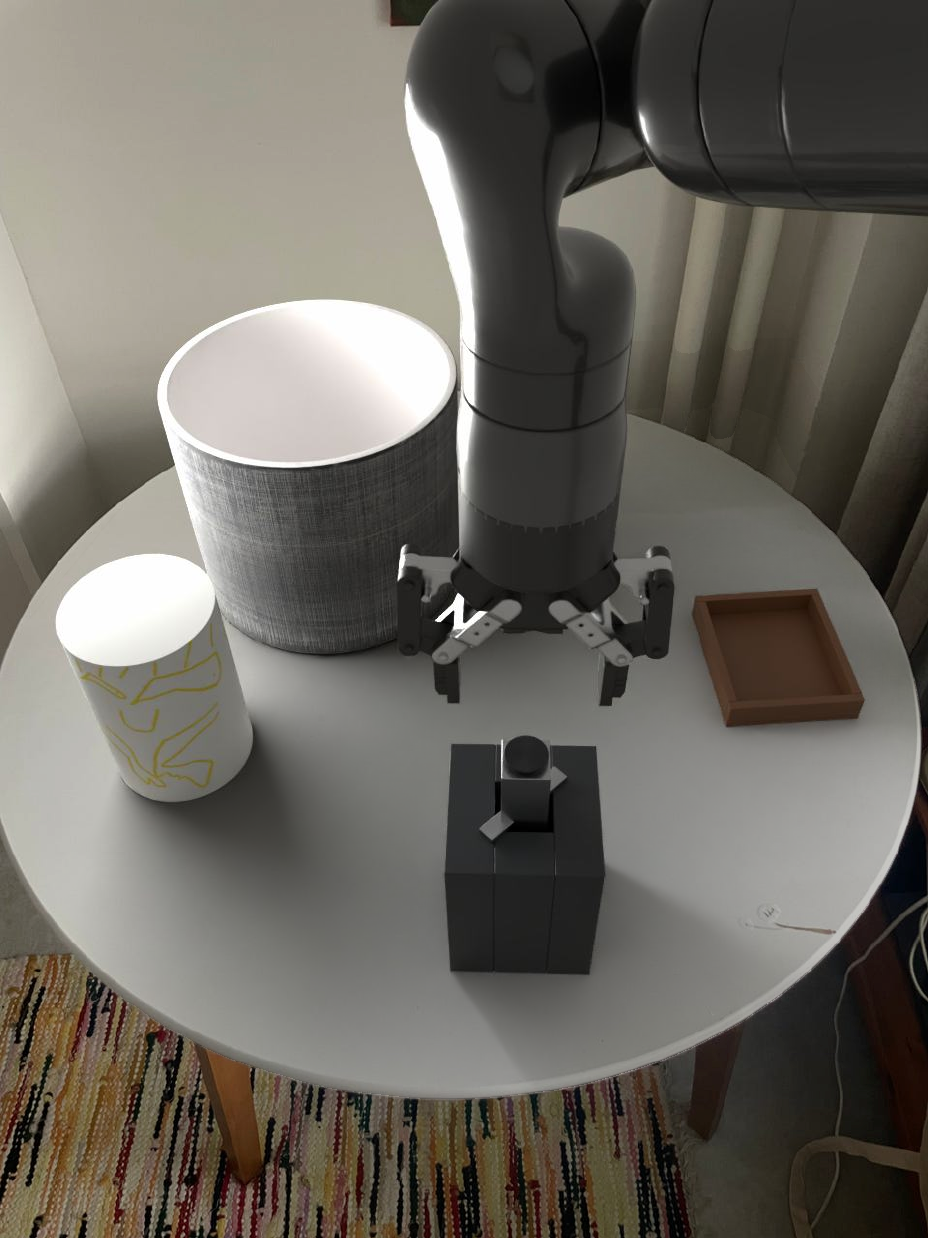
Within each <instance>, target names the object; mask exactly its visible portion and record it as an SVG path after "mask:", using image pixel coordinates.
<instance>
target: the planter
mask: <svg viewBox="0 0 928 1238" xmlns="http://www.w3.org/2000/svg"><path fill="white" fill-rule="evenodd" d="M457 366H458V365H457V361H456V358H455V356H454V353H453V351H452V349H451V347H450V346H449V344H448V343H447V342H446V340H445V339H444V338H443V337H442V336H441V335H440V334H439V333H438V332H437V331H436V330H435V329H433V328H432V327H431V326H429V325H428V324H426V323H425V322H423V321H422V320H420V319H418V318H416V317H414V316H412V315H409V314H407V313H405V312H402V311H400V310H397V309H394V308H390V307H387V306H384V305H380V304H375V303H369V302H364V301H363V302H362V301H356V300H346V299H306V300H305V299H304V300H296V301H289V302H283V303H277V304H272V305H271V304H270V305H266V306H263V307H258V308H255V309H251V310H248V311H245V312H242V313H239V314H236V315H233V316H231V317H229V318H227V319H225V320H222V321H219V322H218V323H216V324H214V325H211V326H210V327H208V328H206V329H205V330H203V331H201V332H200V333H198V334H197V335H195V336H194V337H193V338H191V339H190V340H189V341H187V342H186V343H185V344H184V345H183V346H182V347H181V348H180V349H179V350H178V351H177V352H175V354H174V355H173V356H172V358H171V359H170V360H169V362H168V363H167V364H166V366H165V368H164V370H163V371H162V373H161V377H160V379H159V382H158V386H157V404H158V409H159V412H160V416H161V419H162V424H163V427H164V430H165V434H166V437H167V441H168V444H169V448H170V451H171V455H172V458H173V461H174V465H175V469H176V472H177V476H178V479H179V484H180V486H181V490H182V493H183V497H184V499H185V503H186V507H187V510H188V514H189V517H190V522H191V525H192V527H193V531H194V535H195V538H196V542H197V544H198V547H199V552H200V554H201V557H202V560H203V563H204V564H203V565H204V567H205V573H206V574H207V575H208V577H209V578H210V580H211V582H212V584H213V587H214V590H215V594H216V598H217V601H218V605H219V608H220V612H221V614H222V615H223V616H224V618H226V619H227V621H229V623H230V624H232V625H233V626H234V627H235V628H237V629H238V630H239V631H241V632H242V633H243V634H244V635H247V636H248V637H250V638H252V639H254V640H256V641H257V642H260V643H263V644H264V645H268V646H271V647H274V648H276V649H281V650H284V651H290V652H295V653H303V654H315V655H321V654H322V655H324V654H325V655H329V654H343V653H351V652H355V651H356V652H357V651H361V650H365V649H369V648H372V647H373V648H374V647H376V646H379V645H383V644H385V643H388V642H391V641H393V640H396V639H398V612H397V583H398V574H399V564H400V555H401V549H402V547H403V546H404V545H406V544H409V543H415V544H418V545H420V546H421V547H422V548H423V549H424V556H431V557H450V558H453V556H454V554H455V553H456V552H457V550H458V549H459V547H460V542H459V503H458V467H457V453H456V443H457V419H458V411H459V395H458V393H459V390H458V385H459V383H458V368H457ZM453 590H454V588H453V587H452V585H451V583H445V584H443V585H441V586H440V587H439V589H438V592H437V594H436V595H434V596H432V597H430V601H429V602H427V603H424V602H423V618H427V619H430V617H432V616H433V615H434V614H435V613H436V612H437V611H438V610H439V609H440V608H441V607H442V605H443V604H444V603H445V602H446V600H447V599H448V598H449V596H450V594H451V593H452V592H453Z"/></svg>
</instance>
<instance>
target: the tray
mask: <svg viewBox="0 0 928 1238" xmlns="http://www.w3.org/2000/svg"><path fill="white" fill-rule="evenodd" d="M693 600H694V601H693V605H692V611H691V616H692V617H691V618H692V620H693V623H694V627H695V630H696V633H697V636H698V637H697V638H698V640H699V643H700V646H701V650H702V654H703V656H704V660H705V663H706V666H707V669H708V673H709V676H710V679H711V683H712V687H713V690H714V693H715V696H716V699H717V703H718V706H719V709H720V712H721V716H722V719H723V722H724V725H725V727H726V728H729V727H730V728H732V727H746V726H748V727H749V726H764V725H779V724H780V725H781V724H794V723H808V722H809V723H810V722H824V721H825V722H826V721H839V720H842V721H843V720H853V719H854V720H855V719H859V717H860V714H861V712H862V710H863V707H864V705H865V702H866V698H865V697H864V694H863V692H862V688H861V686H860V685H859V684H860V683H859V682H858V680H857V678H856V675H855V673H854V670H853V668H852V666H851V664H850V661H849V659H848V656H847V654H846V651H845V650H844V647H843V645H842V642H841V640H840V637H839V636H838V633H837V631H836V629H835V626H834V624H833V622H832V619H831V617H830V614H829V613H828V610H827V608H826V605H825V603H824V601H823V598H822V596H821V594H820V592H819V589H818V588H797V589H782V590H766V591H765V590H764V591H749V592H732V593H717V594H716V593H715V594H700V595H698V594H697V595H695V596H694V599H693Z"/></svg>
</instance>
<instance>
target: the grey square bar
mask: <svg viewBox="0 0 928 1238" xmlns="http://www.w3.org/2000/svg"><path fill="white" fill-rule="evenodd" d="M501 744H502V759H501V811H500V812H499V813H497V814H496V815H495V816H494V817H493V818H491V819H490V820H489V821H488V822H487V823H485V824H484V825H483V826H482V827H481V828H479V833H480V834H481V835H483V836H484V837H485V838H486V839H487V840H488V841H489V842H490V843H491V844H493V843H494V842H495V841H496V840H497V839H499V838H500V837H501V836H502V835H503V834H504V833H506V832H547V825H548V812H549V799H550V794H552V793H553V792H554V791H555V790H556V789H558V788H559V787H560V786H561V785H562V784H563V783H565V782H566V781H567V776H566V775H565V774H563V773H562V772H561V771H560V770H559V769H557V768H556V767H555V766H554V767H553V768H552V769H551V765H550V745H551V741H550V740H549V739H540V738H538V737H536V736H533V735H528V734H526V735H525V734H524V735H523V734H522V735H518V736H515V737H513V738H512V739H507V738H506V739H505V738H502V739H501Z"/></svg>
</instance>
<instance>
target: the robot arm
mask: <svg viewBox="0 0 928 1238" xmlns="http://www.w3.org/2000/svg"><path fill="white" fill-rule="evenodd" d="M403 111H404V117H405V118H404V119H405V125H406V132H407V136H408V139H409V142H410V146H411V150H412V153H413V157H414V161H415V164H416V166H417V170H418V173H419V175H420V178H421V180H422V181H421V182H422V184H423V186H424V189H425V192H426V195H427V198H428V201H429V203H430V207H431V210H432V213H433V216H434V220H435V221H436V225H437V229H438V233H439V237H440V241H441V244H442V247H443V251H444V255H445V258H446V262H447V266H448V268H449V271H450V276H451V278H452V281H453V285H454V288H455V292H456V297H457V300H458V305H459V306H458V307H459V316H460V317H459V352H460V353H459V355H460V356H459V357H460V360H459V361H460V398H459V403H458V419H457V443H456V453H457V467H458V503H459V542H460V547H459V549H458V550H457V552H456V553H455V554H454V556H453V558H450V557H431V556H424V549H423V548H422V547H421V546H420V545H418V544H415V543H409V544H406V545H404V546H403V547H402V549H401V555H400V564H399V574H398V583H397V612H398V637H397V651H398V652H399V653H400V654H401V655H403V656H406V657H414V656H417V655H418V654H420V653H422V654H425V655H427V656H429V657H430V658H431V660H432V665H433V682H434V683H433V684H434V690H435V692H436V693H437V695H438V696H446V702H447V704H448V705H460V704H461V685H462V684H461V682H462V669H461V666H462V665H461V655H462V654H463V653H464V652H465V651H467V650H468V649H469V648H472V649H476V648H478V647H479V646H480V645H481V644H482V643H484V642H485V641H486V640H487V639H488V638H489V637H490V636H492V634H494V633H495V632H496V631H497V630H499V629H500V630H502V634H503V635H505V634H509V635H519V634H520V635H521V634H525V633H531V632H536V633H539V634H545V635H563V634H564V631H566V630H570V631H571V632H572V633H573V634H574V635H575V636H576V637H577V638H578V639H579V640H580V641H581V642H582V643H583V644H584V645H585V646H586V647H587V648H588V649H589V650H592V651H594V650H595V649H596V650H597V651H598V652H599V659H598V665H597V677H596V687H597V698H598V707H612V706H613V700H614V699H621V698H622V697H623V696H624V695H625V694H626V690H627V683H628V676H629V669H630V665H631V664H632V662H633V660H634V659H635V658H638V657H642V656H646V658H648V659H650V660H655V661H656V660H663V659H664V658H666V657H667V656H668V654H669V650H670V642H671V633H672V631H671V630H672V621H673V611H674V601H675V591H676V585H675V584H676V583H675V577H674V571H673V564H672V559H671V552H670V550H669V549H668V548H667V547H666V546H663V545H654V546H652V547H650V548H649V549H647V551H646V552H645V557H641V558H639V557H638V558H618V556H617V555H616V553H615V551H614V548H615V541H616V532H617V526H618V525H617V524H618V517H619V508H620V499H621V490H622V483H623V475H624V467H625V466H624V465H625V457H626V449H627V439H628V415H627V414H628V413H627V392H628V390H627V389H628V383H629V374H630V373H629V372H630V365H631V364H630V362H631V356H632V347H633V337H634V336H633V335H634V328H635V318H636V305H637V286H636V279H635V278H636V277H635V272H634V269H633V267H632V264H631V262H630V260H629V258H628V256H627V255H626V253H625V252H624V250H622V249H621V248H620V247H619V246H618V245H617V244H616V243H614V242H613V240H610V239H608V238H606V237H605V236H602V235H601V234H599V233H596V232H594V231H591V230H587V229H582V228H577V227H572V226H559V220H560V219H559V218H560V212H561V208H562V205H563V204H562V203H563V200H564V199H566V198H568V197H571V196H573V195H576V194H578V193H580V192H584V191H586V190H588V189H590V188H592V187H596V186H597V185H600V184H603V183H605V182H607V181H610V180H612V179H616V178H619V177H621V176H624V175H626V174H628V173H632V172H635V171H640V170H645V169H651V168H655V169H656V170H657V171H658V172H659V173H660V175H662V177H664V178H665V179H666V180H667V181H668V182H669V183H671V184H672V185H674V186H675V187H676V188H677V189H679V190H680V191H683V192H684V193H687V194H688V195H691V196H694V197H697V198H699V199H702V200H706V201H710V202H715V203H720V204H723V205H732V206H740V207H751V208H752V207H753V208H765V209H766V208H767V209H780V210H781V209H782V210H796V211H797V210H799V211H815V212H832V213H849V214H850V213H851V214H876V215H892V216H894V215H895V216H911V217H925V218H926V217H928V0H437V1H436V2H435V3H434V4H433V5H432V6H431V7H430V8H429V10H428V12H427V13H426V15H425V16H424V18H423V20H422V21H421V23H420V25H419V27H418V30H417V32H416V34H415V37H414V39H413V42H412V45H411V49H410V51H409V56H408V59H407V63H406V69H405V75H404V83H403ZM445 583H451V585H452V587H453V590H454V591H455V592H456V593H457V594H456V596H455V599H454V601H453V603H452V604H451V605H450V606H449V607H448V608H447V609H446V610H445V611H444V612H443V613H442V614H441V615H439V616H438V618H437V619H431V618H428V619H427V618H423V602H424V603H427V602H429V601H430V597H432V596H434V595H436V594H437V592H438V589H439V587H440V586H441V585H443V584H445ZM620 585H621V586H625V587H628V588H629V589H630V592H631V595H632V597H633V598H635V600H639V603H640V604H641V617H640V618H641V620H636V621H632V622H628V620H626V618H625V617H624V616H623V615H622V614H621V613H620V612H619V611H618V610H617V609H616V608H615V607H614V606H613V605H612V603H611V599H610V598H611V597H612V596H613V595H614V594H615V593H616V592H617V591H618V589H619V587H620Z"/></svg>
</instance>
